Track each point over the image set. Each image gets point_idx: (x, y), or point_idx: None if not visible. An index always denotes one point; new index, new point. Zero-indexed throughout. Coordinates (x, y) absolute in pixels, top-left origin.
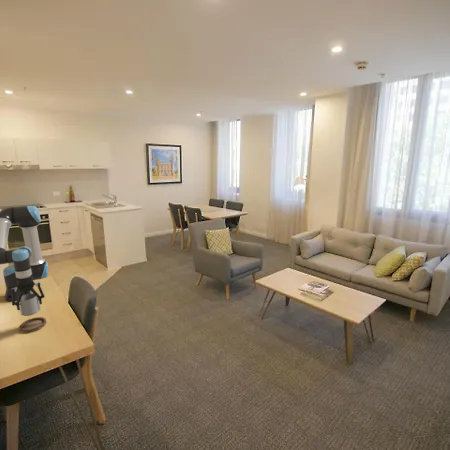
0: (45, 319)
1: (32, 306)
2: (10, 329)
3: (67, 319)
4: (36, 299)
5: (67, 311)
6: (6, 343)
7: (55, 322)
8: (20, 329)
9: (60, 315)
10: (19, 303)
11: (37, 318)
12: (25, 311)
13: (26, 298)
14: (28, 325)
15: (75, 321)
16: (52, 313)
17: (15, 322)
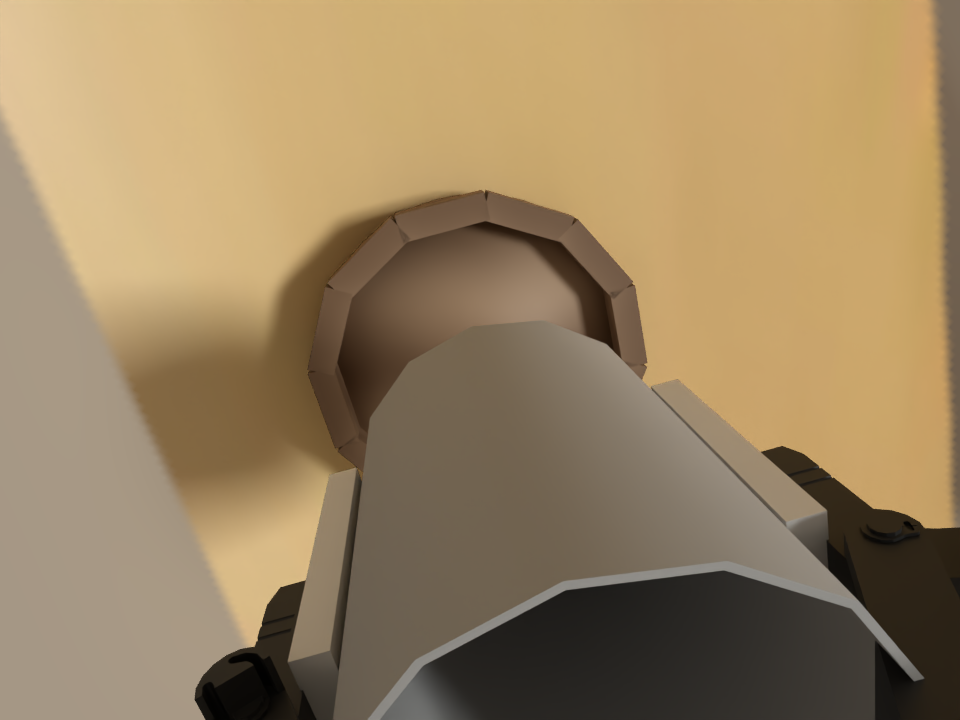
0: (637, 318)
1: (639, 710)
2: (180, 329)
3: (873, 342)
4: (811, 716)
5: (909, 97)
6: (255, 618)
7: (735, 362)
8: (342, 450)
9: (806, 189)
10: (311, 663)
11: (520, 230)
12: (467, 653)
13: (481, 496)
14: (417, 353)
15: (944, 424)
16: (704, 63)
17: (177, 134)
